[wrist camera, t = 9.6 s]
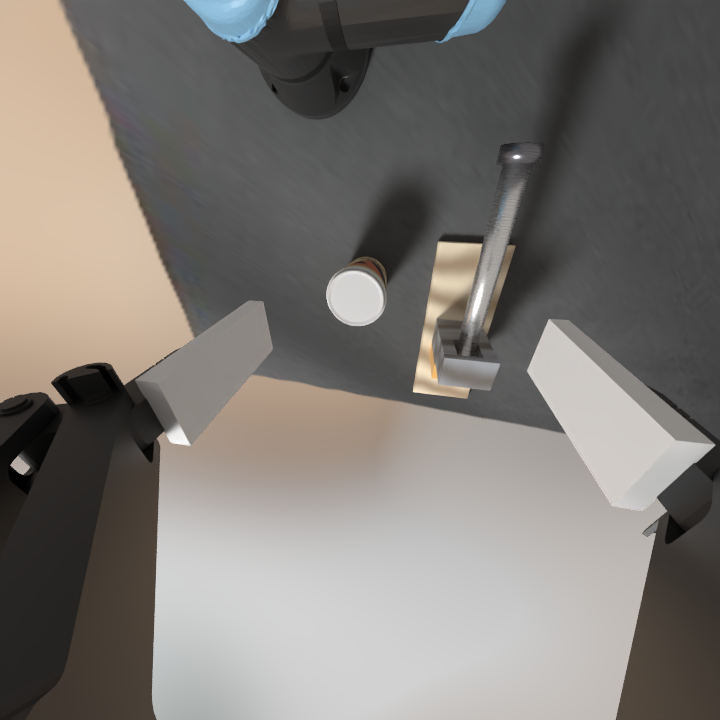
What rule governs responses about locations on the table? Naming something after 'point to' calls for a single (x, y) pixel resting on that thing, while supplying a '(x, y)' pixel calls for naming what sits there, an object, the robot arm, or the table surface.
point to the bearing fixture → (456, 324)
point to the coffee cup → (358, 292)
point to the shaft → (497, 237)
